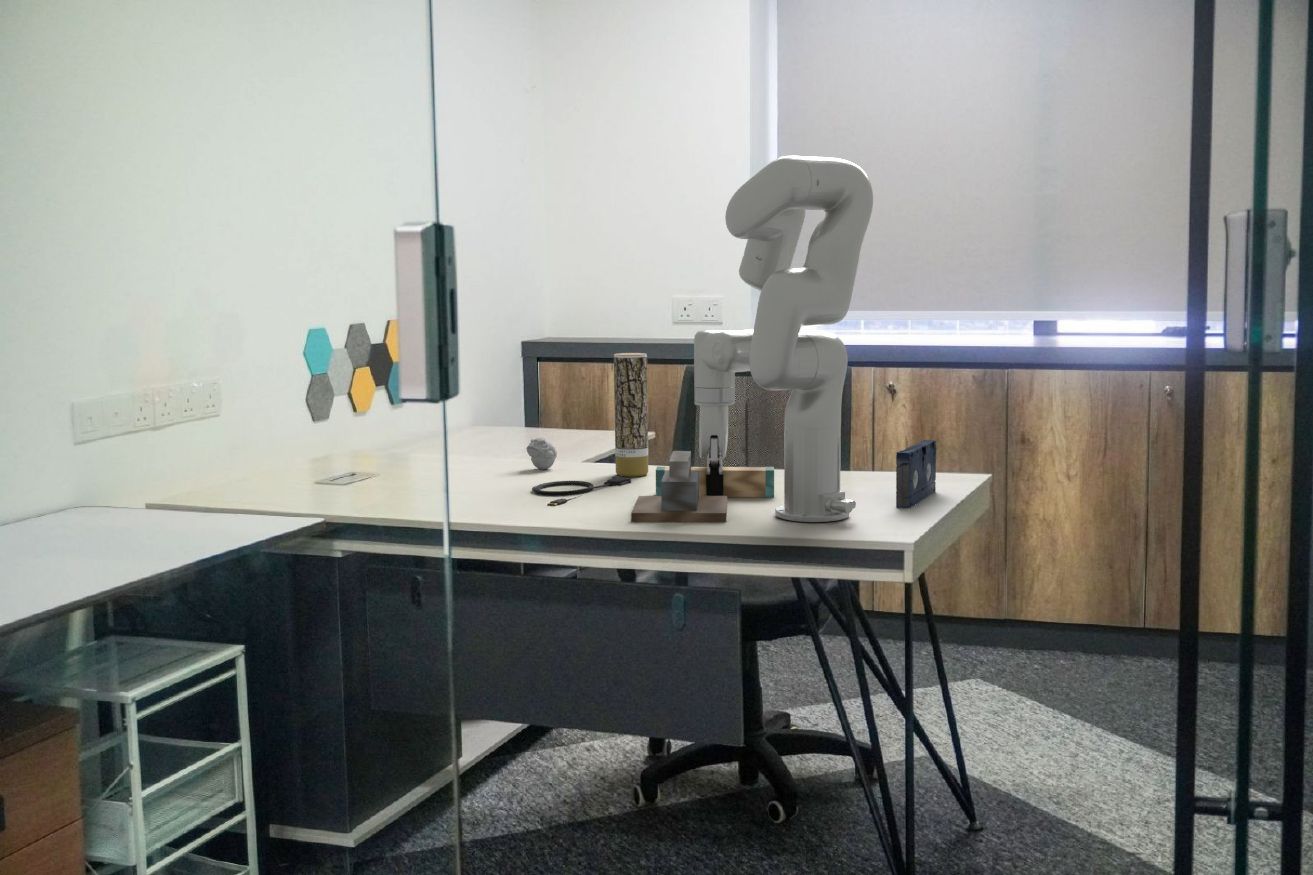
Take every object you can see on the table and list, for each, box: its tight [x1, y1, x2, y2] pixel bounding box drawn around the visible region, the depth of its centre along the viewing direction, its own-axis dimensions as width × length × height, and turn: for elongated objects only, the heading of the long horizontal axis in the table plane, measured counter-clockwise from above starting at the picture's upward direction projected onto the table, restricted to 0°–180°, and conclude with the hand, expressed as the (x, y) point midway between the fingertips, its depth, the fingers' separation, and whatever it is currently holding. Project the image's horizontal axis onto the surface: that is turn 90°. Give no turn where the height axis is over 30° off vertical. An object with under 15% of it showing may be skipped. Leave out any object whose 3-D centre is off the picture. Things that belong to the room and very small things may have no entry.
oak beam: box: [655, 466, 775, 498], centre depth 237 cm, size 22×4×5 cm, turn 86°
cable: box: [531, 476, 632, 507], centre depth 244 cm, size 14×28×2 cm, turn 151°
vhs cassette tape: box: [895, 439, 937, 509], centre depth 230 cm, size 18×3×10 cm, turn 152°
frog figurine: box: [526, 436, 558, 471], centre depth 270 cm, size 6×7×7 cm
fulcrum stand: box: [630, 450, 728, 523], centre depth 220 cm, size 16×16×10 cm
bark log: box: [613, 352, 649, 478], centre depth 260 cm, size 7×7×25 cm
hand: (715, 492), depth 237 cm, fingers closed on oak beam, 4 cm apart
